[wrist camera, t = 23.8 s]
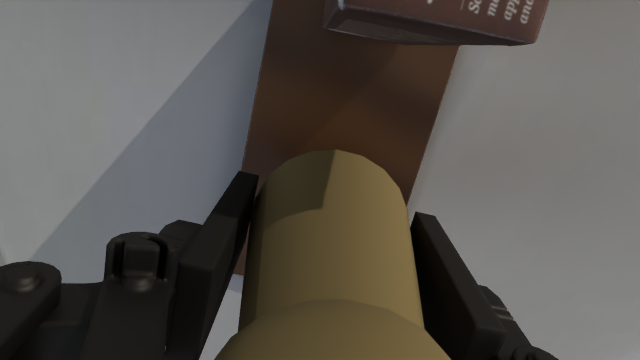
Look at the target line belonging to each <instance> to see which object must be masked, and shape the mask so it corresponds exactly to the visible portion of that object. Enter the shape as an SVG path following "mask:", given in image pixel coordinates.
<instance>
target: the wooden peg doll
mask: <svg viewBox="0 0 640 360" xmlns="http://www.w3.org/2000/svg"><path fill="white" fill-rule="evenodd" d="M214 360H451V359H450V358H449V356H448V355H447V354H446V353H445V352H444V351H443V350H442V348H441V347H440V346H439V345H438V344H437V343H436V342H435V341H434V339H433V338H432V337H431V336H430V335H429V334H428V333H427V332H426V330H425V328H424V322H423V315H422V308H421V301H420V294H419V287H418V280H417V273H416V266H415V259H414V252H413V245H412V239H411V232H410V225H409V218H408V211H407V208H406V205H405V202H404V199H403V197H402V194H401V191H400V188H399V187H398V186H397V185H396V183H395V182H394V181H393V180H392V178H391V177H390V176H389V175H388V174H387V172H386V171H385V170H384V169H383V168H381V167H379V166H378V165H376V164H375V163H373V162H371V161H370V160H368V159H367V158H365V157H364V156H361V155H357V154H353V153H349V152H345V151H341V150H322V151H310V152H308V153H305V154H303V155H300V156H297V157H295V158H292V159H289V160H287V161H286V162H285V163H283V164H282V165H281V166H280V167H278V168H277V169H276V170H275V171H273V172H272V173H271V174H270V175H269V176H268V177H267V178H266V180H265V181H264V183H263V185H262V186H261V188H260V189H259V191H258V193H257V194H256V196H255V200H254V204H253V209H252V214H251V218H250V225H249V235H248V244H247V253H246V262H245V271H244V280H243V289H242V299H241V308H240V317H239V326H238V333H237V334H235V335H234V336H232V337H231V338H230V339H229V341H228V342H227V343H226V345H225V346H224V347H223V349H222V350H221V351H220V352H219V354H218V355H217V356H216V358H215V359H214Z"/></svg>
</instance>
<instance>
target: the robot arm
mask: <svg viewBox="0 0 640 360" xmlns="http://www.w3.org/2000/svg"><path fill="white" fill-rule="evenodd" d="M258 179H259V175H255V174H251V173H247V172H242V171H238V173H237V174H236V176H235V177H234V179H233V180H232V182H231V183H230V185H229V186H228V188H227V189H226V191H225V192H224V194H223V196H222V197H221V199H220V200H219V202H218V203H217V205H216V206H215V208H214V209H213V211H212V212H211V214H210V215H209V217H208V218H207V220H206V221H205V223H204V224H203V225H201V224H196V223H192V222H187V221H183V220H177V221H175V222H173V223H170V224H168V225H166V226H165V227H164V228H163V229H162V230H161V231H160V233H159V234H155V233H149V232H130V233H125V234H120V235H118V236H116V237H114V238H112V239H111V240H110V242H109V243H108V244H107V249H106V261H105V272H104V280H103V282H98V283H86V284H72V283H61V280H62V278H61V273H60V271H59V270H58V269H57V268H55V267H54V266H53V265H49V264H46V263H43V262H31V261H25V262H16V263H11V264H8V265H4V266H1V267H0V360H199V358H200V355H201V353H202V350H203V348H204V345H205V343H206V340H207V338H208V335H209V333H210V330H211V328H212V325H213V323H214V320H215V318H216V315H217V312H218V310H219V307H220V305H221V302H222V300H223V297H224V295H225V292H226V290H227V287H228V285H229V282H230V280H231V277H232V275H233V272H234V270H235V267H236V264H237V262H238V259H239V257H240V254H241V252H242V249H243V247H244V244H245V242H246V238H247V233H248V228H249V223H250V218H251V214H252V209H253V204H254V199H255V194H256V189H257V184H258ZM410 232H411V239H412V245H413V252H414V259H415V266H416V273H417V280H418V287H419V294H420V301H421V308H422V315H423V322H424V328H425V330H426V332H427V333H428V334H429V335H430V336H431V337H432V338H433V339H434V341H435V342H436V343H437V344H438V345H439V346H440V347H441V348H442V350H443V351H444V352H445V353H446V354H447V355H448V356H449V358H450V359H451V360H558V359H557V358H555V357H554V356H553V355H551V354H550V353H548V352H546V351H544V350H542V349H539V348H537V347H533V346H532V345H531V344H530V342H529V341H528V339H527V338H526V336H525V335H524V333H523V332H522V331H521V329H520V328H519V326H518V325H517V323H516V322H515V321H513V317H512V316H511V314H510V313H509V311H507V308H506V307H505V305H504V304H503V302H502V301H501V299H500V298H499V297H498V296H497V295H496V294H494V293H493V292H492V291H491V290H490V289H489V288H487V287H486V286H481V285H478V284H477V283H476V281H475V279H474V278H473V276H472V275H471V273H470V271H469V270H468V268H467V267H466V265H465V263H464V262H463V260H462V259H461V257H460V255H459V254H458V252H457V251H456V249H455V247H454V246H453V244H452V243H451V241H450V239H449V238H448V236H447V235H446V233H445V231H444V230H443V228H442V227H441V225H440V223H439V222H438V220H437V219H436V217H435V216H432V215H428V214H424V213H419V212H415V215H414V218H413V221H412V224H411V227H410ZM165 346H166V349H165Z"/></svg>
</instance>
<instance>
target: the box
mask: <svg viewBox="0 0 640 360" xmlns="http://www.w3.org/2000/svg"><path fill="white" fill-rule="evenodd" d="M548 3H549V0H326V2H325V8H324V15H323V22H322V26H323V28H326V29H330V30H334V31H337V32H343V33H349V34H353V35H358V36H362V37H370V38H374V39H379V40H383V41H389V42H393V43H397V44H402V45H437V46H439V45H441V46H445V45H507V46H516V45H526V44H533V43H535V42H536V40H537V37H538V34H539V31H540V28H541V25H542V22H543V19H544V15H545V12H546V9H547V6H548Z"/></svg>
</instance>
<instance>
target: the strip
mask: <svg viewBox="0 0 640 360" xmlns="http://www.w3.org/2000/svg"><path fill="white" fill-rule="evenodd" d="M325 2H326V0H273V5H272V10H271V15H270V20H269V26H268V31H267V36H266V42H265V47H264V52H263V57H262V63H261V68H260V73H259V78H258V84H257V89H256V94H255V100H254V105H253V110H252V115H251V121H250V126H249V131H248V137H247V142H246V147H245V152H244V158H243V163H242V168H241V171H242V172H247V173H251V174H255V175H259V179H258V184H257V189H256V194H257V193H258V191H259V189H260V188H261V186H262V185H263V183H264V181H265V180H266V178H267V177H268V176H269V175H270V174H271V173H272V172H273V171H275V170H276V169H277V168H278V167H280V166H281V165H282V164H283V163H285V162H286V161H287V160H289V159H292V158H295V157H297V156H300V155H303V154H305V153H308V152H310V151H322V150H341V151H345V152H349V153H353V154H357V155H361V156H364V157H365V158H367V159H368V160H370V161H371V162H373V163H375V164H376V165H378V166H379V167H381V168H383V169H384V170H385V171H386V172H387V174H388V175H389V176H390V177H391V178H392V180H393V181H394V182H395V183H396V185H397V186H398V187H399V188H400V191H401V194H402V197H403V199H404V202H405V205H406V207H407V204H408V201H409V198H410V195H411V192H412V189H413V186H414V183H415V180H416V177H417V174H418V171H419V168H420V165H421V162H422V159H423V156H424V153H425V150H426V147H427V144H428V141H429V138H430V135H431V132H432V129H433V126H434V123H435V120H436V117H437V114H438V111H439V108H440V105H441V102H442V99H443V96H444V93H445V90H446V87H447V84H448V81H449V78H450V75H451V72H452V69H453V66H454V63H455V60H456V57H457V54H458V51H459V48H460V45H445V46H441V45H439V46H437V45H402V44H397V43H393V42H389V41H383V40H379V39H374V38H370V37H362V36H358V35H353V34H349V33H343V32H337V31H334V30H330V29H326V28H323V26H322V22H323V15H324V8H325ZM256 194H255V196H256ZM254 200H255V199H254ZM249 225H250V223H249ZM248 235H249V228H248V233H247V238H246V242H245V244H244V247H243V249H242V252H241V254H240V257H239V259H238V262H237V264H236V267H235V270H234V272H233V274H238V275H243V276H244V271H245V262H246V253H247V244H248Z"/></svg>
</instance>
